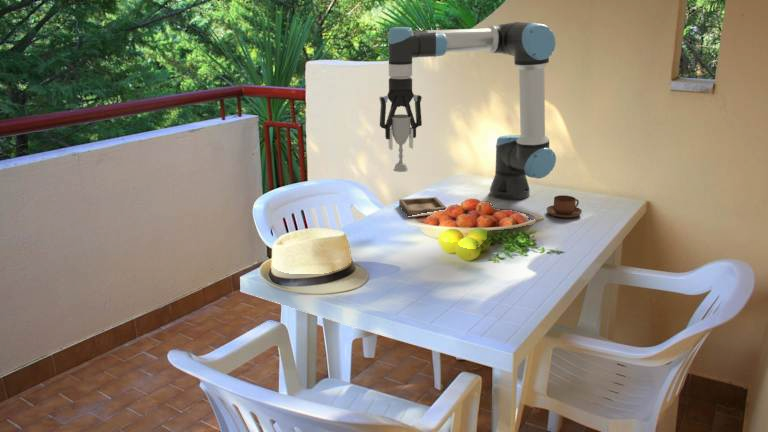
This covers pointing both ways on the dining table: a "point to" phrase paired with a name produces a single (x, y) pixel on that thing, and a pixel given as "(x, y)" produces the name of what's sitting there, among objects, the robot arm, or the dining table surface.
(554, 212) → the cup and saucer
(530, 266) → the dining table surface
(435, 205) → the tray
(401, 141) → the chalice
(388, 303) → the dining table surface
